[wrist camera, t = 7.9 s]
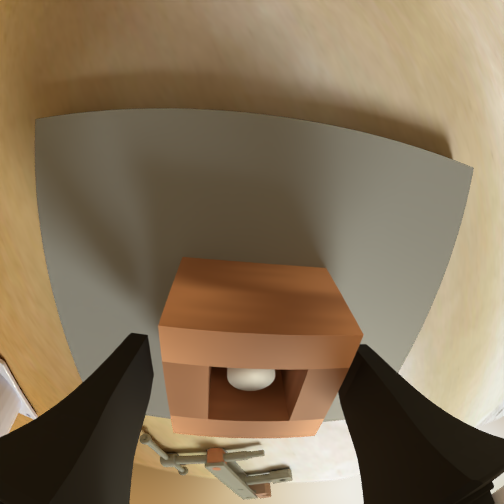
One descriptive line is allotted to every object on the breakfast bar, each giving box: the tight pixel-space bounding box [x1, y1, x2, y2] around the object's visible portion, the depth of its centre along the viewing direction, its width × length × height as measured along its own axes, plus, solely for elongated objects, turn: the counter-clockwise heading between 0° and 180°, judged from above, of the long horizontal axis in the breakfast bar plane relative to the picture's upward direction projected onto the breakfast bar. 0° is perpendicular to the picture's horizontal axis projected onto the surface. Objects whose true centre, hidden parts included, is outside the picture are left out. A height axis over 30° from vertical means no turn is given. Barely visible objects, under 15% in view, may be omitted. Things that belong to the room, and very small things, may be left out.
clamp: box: [140, 434, 292, 499], centre depth 20 cm, size 15×2×10 cm
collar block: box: [158, 257, 364, 438], centre depth 10 cm, size 5×5×4 cm
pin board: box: [35, 108, 474, 422], centre depth 11 cm, size 18×16×4 cm
